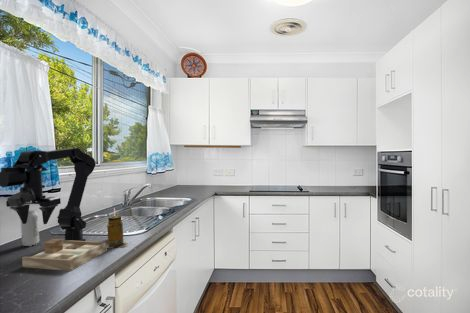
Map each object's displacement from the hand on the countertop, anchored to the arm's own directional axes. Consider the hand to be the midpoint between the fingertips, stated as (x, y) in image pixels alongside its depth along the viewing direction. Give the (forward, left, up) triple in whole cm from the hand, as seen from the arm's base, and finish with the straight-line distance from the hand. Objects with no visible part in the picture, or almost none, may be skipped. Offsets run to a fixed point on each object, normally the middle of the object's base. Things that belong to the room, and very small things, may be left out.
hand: (34, 224), depth 103 cm
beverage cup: (-25, +16, -13) cm, 33 cm away
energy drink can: (-12, -17, -13) cm, 25 cm away
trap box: (-1, +13, -13) cm, 19 cm away
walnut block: (-1, +7, -10) cm, 13 cm away
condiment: (-17, +23, -13) cm, 32 cm away
